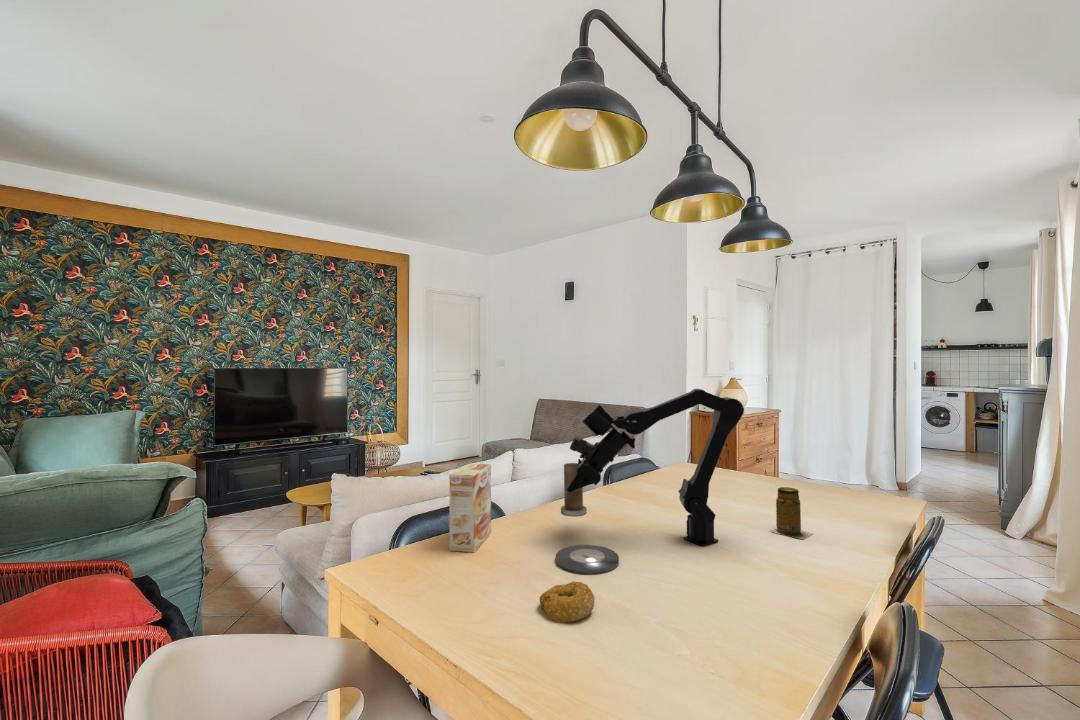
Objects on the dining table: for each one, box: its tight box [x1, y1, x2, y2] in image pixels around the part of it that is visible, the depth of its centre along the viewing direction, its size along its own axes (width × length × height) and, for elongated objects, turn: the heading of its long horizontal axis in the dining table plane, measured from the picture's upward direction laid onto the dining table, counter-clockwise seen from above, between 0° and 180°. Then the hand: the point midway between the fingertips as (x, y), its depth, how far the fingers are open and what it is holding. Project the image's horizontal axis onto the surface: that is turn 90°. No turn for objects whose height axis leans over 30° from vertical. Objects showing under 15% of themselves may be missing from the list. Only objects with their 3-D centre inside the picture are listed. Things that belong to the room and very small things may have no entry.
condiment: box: [770, 486, 814, 540], centre depth 135 cm, size 7×8×12 cm
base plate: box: [555, 544, 620, 575], centre depth 117 cm, size 15×15×1 cm
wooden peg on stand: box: [560, 462, 587, 518], centre depth 133 cm, size 7×7×13 cm
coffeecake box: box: [448, 463, 492, 553], centre depth 131 cm, size 15×7×20 cm, turn 168°
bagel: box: [539, 581, 595, 623], centre depth 93 cm, size 10×11×5 cm
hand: (568, 488), depth 133 cm, fingers closed on wooden peg on stand, 5 cm apart
